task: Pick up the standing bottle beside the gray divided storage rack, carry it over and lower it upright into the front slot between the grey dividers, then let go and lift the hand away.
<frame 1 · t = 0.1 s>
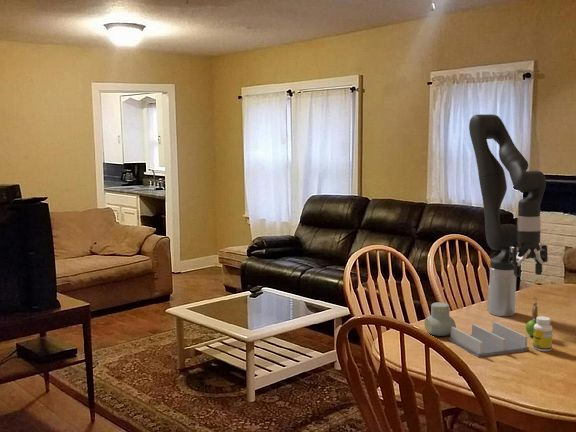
hand: (527, 275, 210), 17 cm above the table, tool pointing down, fingers open, 8 cm apart
snail figurine: (534, 336, 199), on the table
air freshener: (439, 334, 202), on the table
gray divided storage rack: (487, 345, 191), on the table
supplement bottle: (542, 349, 187), on the table
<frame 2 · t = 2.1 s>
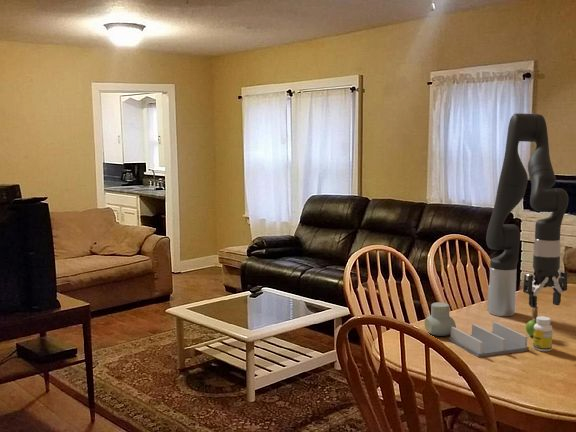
hand: (544, 306, 185), 14 cm above the table, tool pointing down, fingers open, 8 cm apart
nothing on the table moved.
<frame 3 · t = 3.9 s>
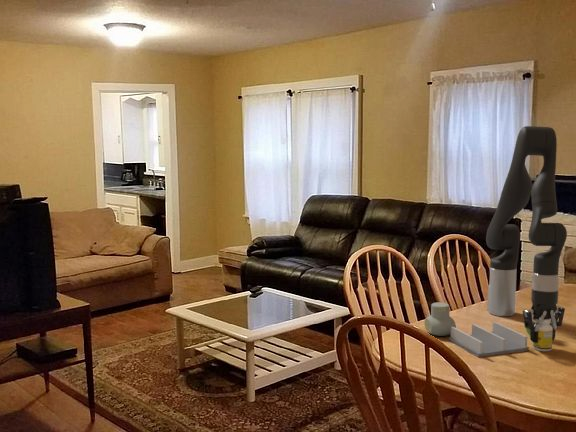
hand: (542, 340, 187), 3 cm above the table, tool pointing down, fingers closed on supplement bottle, 5 cm apart
supplement bottle: (542, 349, 187), on the table, touching gripper
everything else where it was.
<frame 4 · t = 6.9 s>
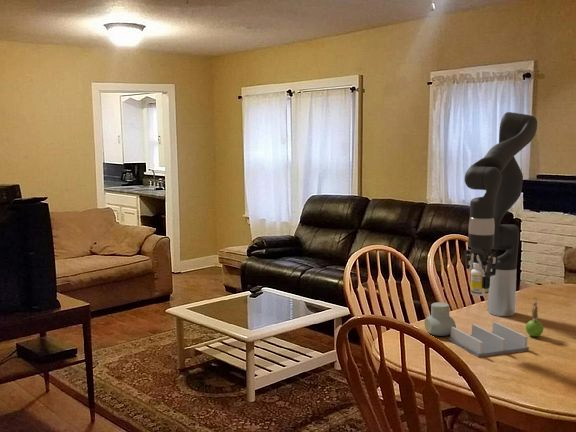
hand: (479, 285, 187), 19 cm above the table, tool pointing down, fingers closed on supplement bottle, 5 cm apart
supplement bottle: (479, 294, 187), point 17 cm above the table, touching gripper
everything else where it was.
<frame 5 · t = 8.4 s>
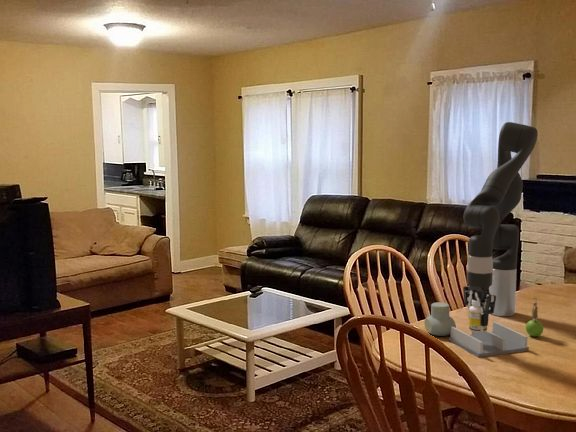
hand: (478, 322, 188), 8 cm above the table, tool pointing down, fingers closed on supplement bottle, 5 cm apart
supplement bottle: (477, 331, 189), point 5 cm above the table, touching gripper
everything else where it was.
when the fingers open (5 cm above the table, at t = 9.8 s): supplement bottle drops 1 cm, resting on gray divided storage rack.
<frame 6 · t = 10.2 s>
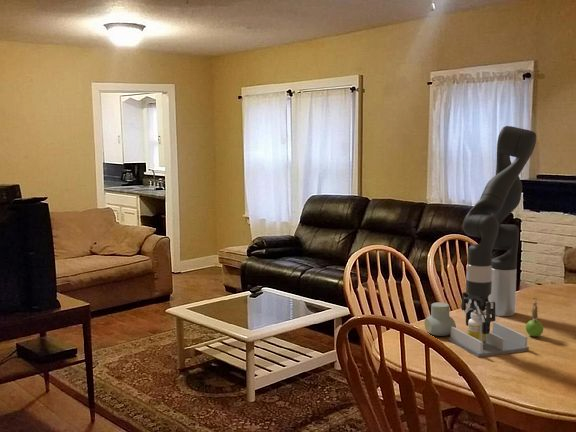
hand: (477, 329, 189), 6 cm above the table, tool pointing down, fingers open, 8 cm apart
supplement bottle: (476, 343, 190), point 1 cm above the table, touching gray divided storage rack
everything else where it was.
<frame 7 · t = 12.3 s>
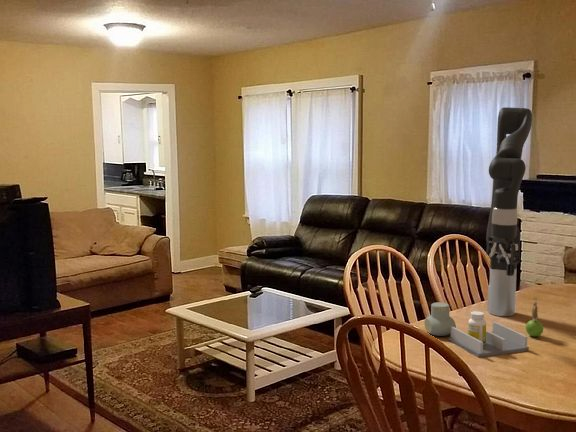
hand: (501, 272, 192), 22 cm above the table, tool pointing down, fingers open, 8 cm apart
nothing on the table moved.
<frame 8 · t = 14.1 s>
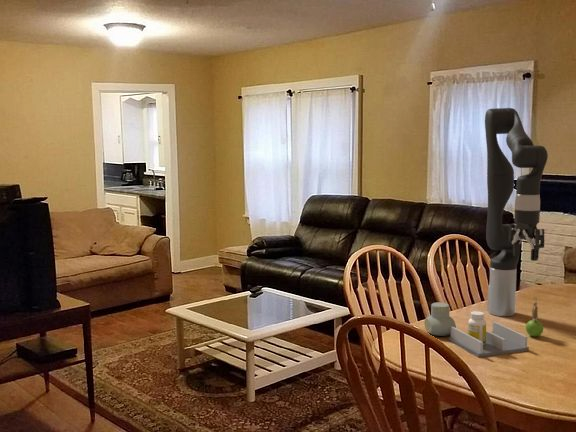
hand: (525, 258, 196), 26 cm above the table, tool pointing down, fingers open, 8 cm apart
nothing on the table moved.
at the end: supplement bottle inside the target area on the gray divided storage rack (0.2 cm from its centre), point 0.8 cm above the gray divided storage rack's base; supplement bottle tilted 0°; the gripper is holding nothing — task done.
